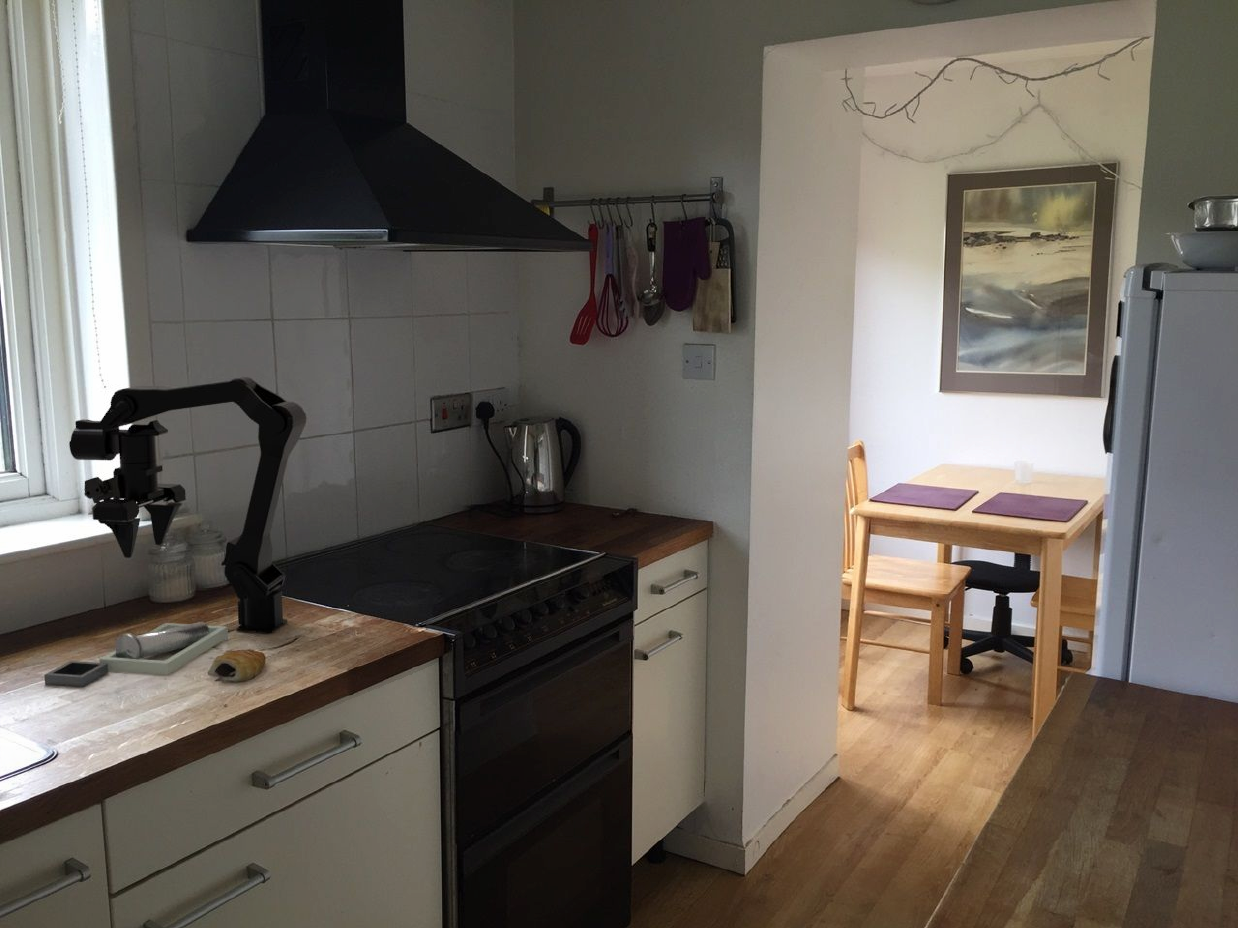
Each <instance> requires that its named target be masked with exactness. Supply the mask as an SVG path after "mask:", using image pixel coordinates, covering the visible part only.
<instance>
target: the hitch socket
mask: <svg viewBox="0 0 1238 928" xmlns="http://www.w3.org/2000/svg"><path fill="white" fill-rule="evenodd" d="M108 674H109V671H108V663H100V662H94V661H93V662H92V661H80V660H79V661H78V660H69V661H68V662H66V663H64V664H62V665H60V666H59V667H56V668H54V669H53V670H50V671H48V672H47V673H45V674H44V685H45V686H53V687H55V686H56V687H67V688H68V687H69V688H70V687H71V688H81V689H82V688H85V687H87V686H88V685H91V683H94V682H95V681H97V680H99V679H101V678H102V677H104V676H106V675H108Z"/></svg>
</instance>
